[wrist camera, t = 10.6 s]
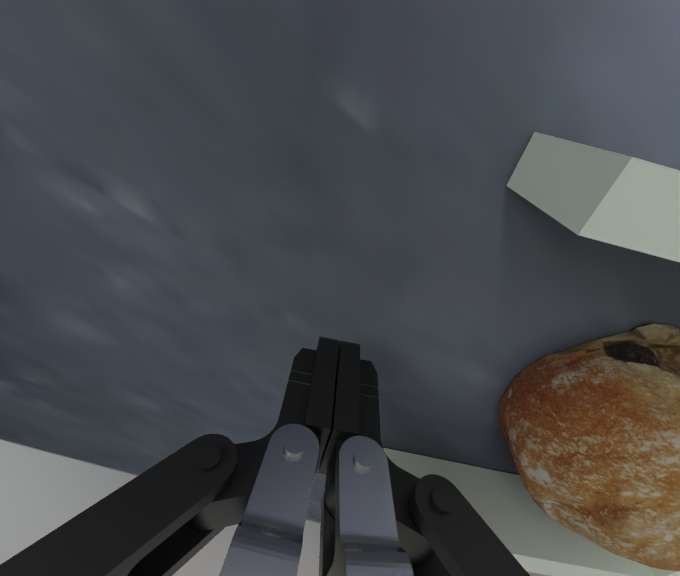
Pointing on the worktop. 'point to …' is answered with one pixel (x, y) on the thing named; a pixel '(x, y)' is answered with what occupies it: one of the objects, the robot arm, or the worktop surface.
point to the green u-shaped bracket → (599, 224)
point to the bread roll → (604, 441)
